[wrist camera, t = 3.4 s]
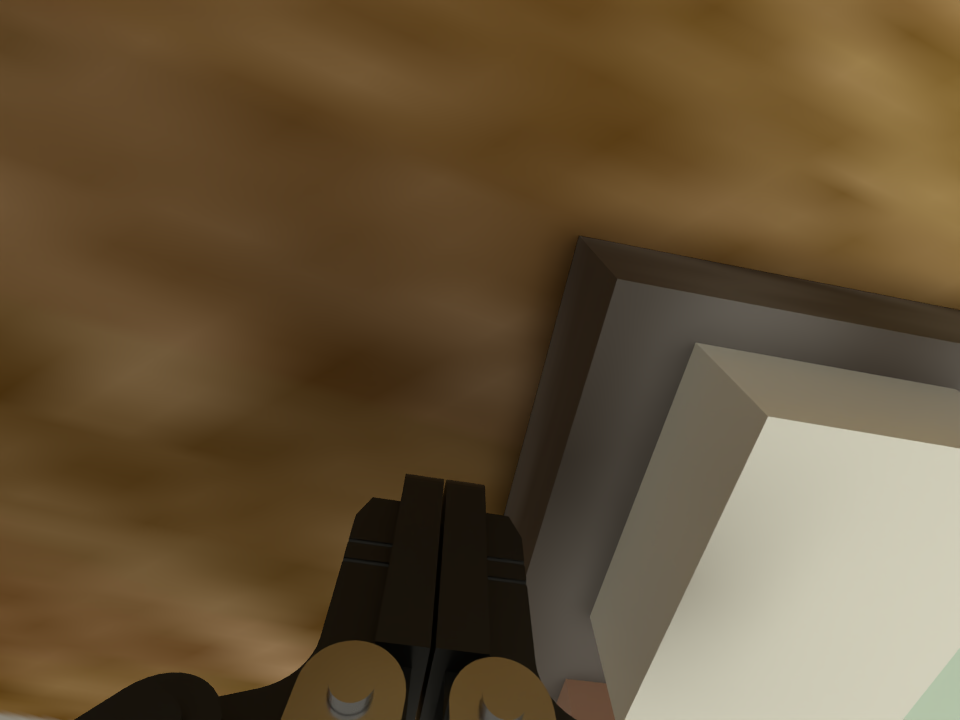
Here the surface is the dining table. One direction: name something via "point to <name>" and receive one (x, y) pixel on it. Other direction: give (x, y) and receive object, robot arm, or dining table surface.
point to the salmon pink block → (586, 700)
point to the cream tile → (787, 548)
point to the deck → (666, 402)
